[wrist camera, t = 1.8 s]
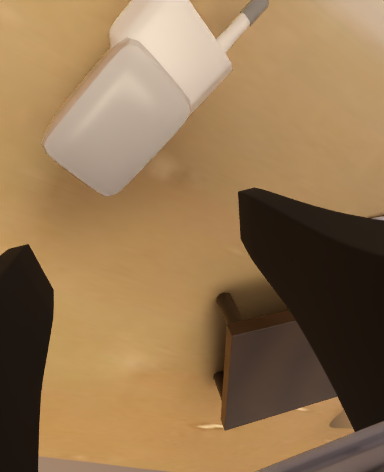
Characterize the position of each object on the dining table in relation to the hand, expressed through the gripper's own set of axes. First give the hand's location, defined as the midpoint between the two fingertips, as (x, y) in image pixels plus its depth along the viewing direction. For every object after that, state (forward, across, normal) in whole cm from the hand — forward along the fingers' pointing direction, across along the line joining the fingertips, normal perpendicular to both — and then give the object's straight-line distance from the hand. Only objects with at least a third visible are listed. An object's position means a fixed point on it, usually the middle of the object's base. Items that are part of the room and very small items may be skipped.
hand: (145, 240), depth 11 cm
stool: (+10, -10, +21) cm, 25 cm away
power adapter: (+10, -2, -4) cm, 11 cm away
